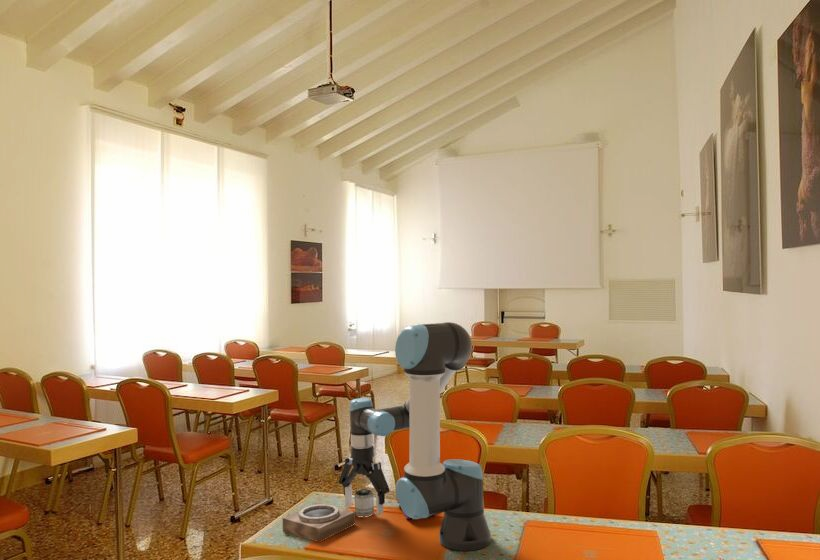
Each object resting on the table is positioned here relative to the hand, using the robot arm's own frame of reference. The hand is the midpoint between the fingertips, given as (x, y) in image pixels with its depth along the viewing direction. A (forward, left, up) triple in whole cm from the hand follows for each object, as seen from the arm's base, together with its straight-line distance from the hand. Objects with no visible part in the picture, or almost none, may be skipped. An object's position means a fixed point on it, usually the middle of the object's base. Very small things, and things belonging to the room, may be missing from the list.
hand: (364, 509), depth 209 cm
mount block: (+5, +16, -2) cm, 17 cm away
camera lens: (0, 0, -2) cm, 2 cm away
